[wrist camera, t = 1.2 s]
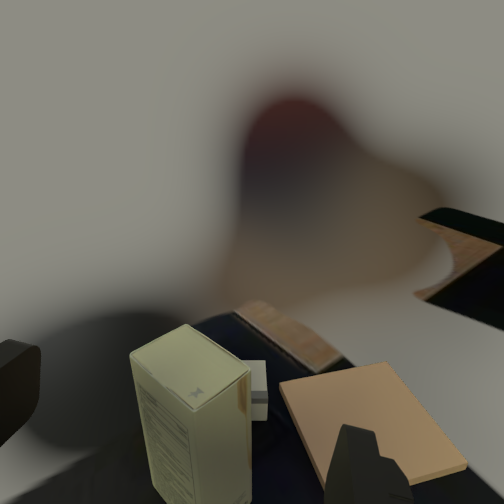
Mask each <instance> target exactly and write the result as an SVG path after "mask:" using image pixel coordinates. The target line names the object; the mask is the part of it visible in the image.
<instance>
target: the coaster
mask: <svg viewBox="0 0 504 504" xmlns="http://www.w3.org/2000/svg"><path fill="white" fill-rule="evenodd" d="M279 390H280V392H281V395H282V397H283V399H284V401H285V404H286V406H287V408H288V410H289V413H290V415H291V417H292V420H293V422H294V424H295V426H296V429H297V431H298V433H299V435H300V438H301V440H302V442H303V444H304V447H305V449H306V451H307V454H308V456H309V458H310V460H311V463H312V465H313V467H314V469H315V472H316V474H317V476H318V478H319V481H320V483H321V485H322V488H323V490H325V482H326V477H327V473H328V469H329V466H330V462H331V459H332V455H333V452H334V448H335V445H336V442H337V438H338V435H339V431H340V428H341V426H342V425H343V424H347V425H351V426H355V427H359V428H363V429H367V430H371V431H374V432H375V435H376V439H377V444H378V448H379V453H380V456H383V457H387V458H391V459H394V460H395V461H396V463H397V464H398V466H399V467H400V469H401V470H402V471H403V473H404V474H405V476H406V477H407V478H408V481H409V485H414V484H417V483H421V482H424V481H428V480H431V479H434V478H438V477H441V476H445V475H448V474H451V473H455V472H458V471H462V470H465V469H466V467H467V464H468V462H467V461H466V459H465V458H464V457H463V456H462V454H461V453H460V452H459V451H458V449H457V448H456V447H455V446H454V444H453V443H452V442H451V441H450V439H449V438H448V437H447V436H446V434H445V433H444V432H443V431H442V430H441V428H440V427H439V426H438V425H437V423H436V422H435V421H434V420H433V418H432V417H431V416H430V415H429V413H428V412H427V411H426V410H425V409H424V407H423V406H422V405H421V404H420V403H419V401H418V400H417V398H416V397H415V396H414V395H413V394H412V392H411V391H410V390H409V389H408V387H407V386H406V385H405V384H404V382H403V381H402V380H401V379H400V377H399V376H398V375H397V374H396V372H394V370H393V369H392V367H391V366H390V365H389V364H388V363H387V361H385V362H380V363H375V364H370V365H365V366H360V367H355V368H350V369H345V370H340V371H335V372H330V373H325V374H320V375H315V376H310V377H305V378H300V379H295V380H291V381H286V382H281V383H279Z"/></svg>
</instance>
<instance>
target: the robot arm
mask: <svg viewBox="0 0 504 504" xmlns="http://www.w3.org/2000/svg"><path fill="white" fill-rule="evenodd" d="M40 366H41V351H40V348H39V347H38V346H35V345H31V344H27V343H23V342H19V341H15V340H11V339H8V340H5V341H3V342H2V343H0V447H1V446H2V445H3V444H4V443H5V442H6V441H7V440H8V439H9V438H10V437H11V436H12V435H13V434H14V433H15V432H16V431H18V429H20V428H21V427H22V426H23V425H24V424H25V423H26V422H27V421H28V420H29V418H30V417H31V415H32V414H33V412H34V410H35V408H36V406H37V403H38V400H39V389H40V388H39V387H40ZM324 504H414V498H413V495H412V492H411V488H410V485H409V481H408V478H407V477H406V476H405V474H404V473H403V471H402V470H401V469H400V467H399V466H398V464H397V463H396V461H395V460H394V459H391V458H387V457H383V456H380V453H379V448H378V444H377V439H376V435H375V432H374V431H371V430H367V429H363V428H359V427H355V426H351V425H347V424H343V425H342V426H341V428H340V431H339V435H338V438H337V442H336V445H335V448H334V452H333V455H332V459H331V462H330V466H329V469H328V473H327V477H326V482H325V490H324Z"/></svg>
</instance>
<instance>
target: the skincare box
mask: <svg viewBox="0 0 504 504" xmlns="http://www.w3.org/2000/svg"><path fill="white" fill-rule="evenodd" d="M130 361H131V367H132V372H133V378H134V383H135V388H136V394H137V399H138V405H139V411H140V416H141V422H142V427H143V433H144V438H145V444H146V449H147V455H148V460H149V466H150V472H151V477H152V483H153V486H154V487H155V489H156V490H157V491H158V493H159V494H160V495H161V496H162V498H163V499H164V500H165V501H166V503H167V504H250V503H251V501H252V434H251V431H252V430H251V424H252V422H251V368H250V367H249V366H247V365H246V364H245V363H244V362H242V361H241V360H240V359H238V358H237V357H235V356H234V355H233V354H231V353H230V352H228V351H227V350H226V349H224V348H223V347H221V346H220V345H218V344H217V343H215V342H214V341H212V340H211V339H209V338H208V337H206V336H205V335H203V334H202V333H200V332H198V331H197V330H195V329H194V328H192V327H190V326H189V325H187V324H184V325H182V326H181V327H179V328H177V329H175V330H173V331H171V332H169V333H167V334H165V335H163V336H161V337H159V338H158V339H156V340H154V341H152V342H150V343H148V344H146V345H144V346H142V347H141V348H139V349H137V350H135V351H133V352H131V353H130Z"/></svg>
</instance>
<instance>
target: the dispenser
mask: <svg viewBox="0 0 504 504" xmlns="http://www.w3.org/2000/svg"><path fill="white" fill-rule="evenodd" d="M241 361H242V362H244V363H245V364H246V365H247V366H249V367H250V368H251V421H267V410H268V391H267V381H266V364H265V360H241Z"/></svg>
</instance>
